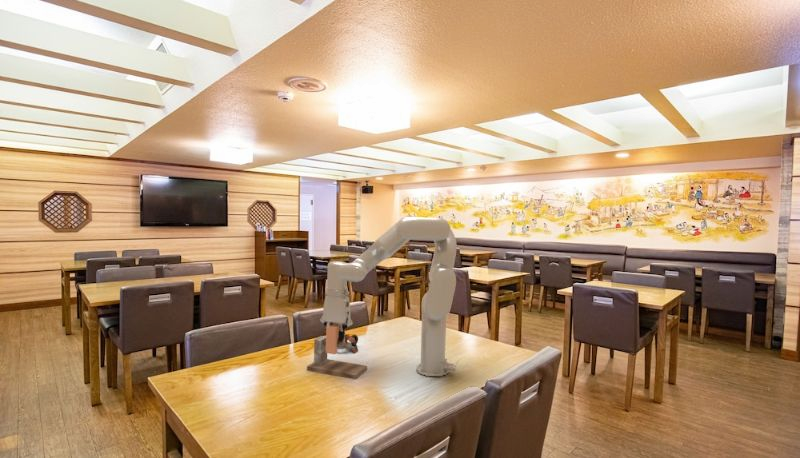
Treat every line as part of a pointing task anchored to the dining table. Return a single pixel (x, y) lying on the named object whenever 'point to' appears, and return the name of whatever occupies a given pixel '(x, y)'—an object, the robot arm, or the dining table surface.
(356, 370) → the hook stand
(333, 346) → the saddle clip
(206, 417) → the dining table surface
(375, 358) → the dining table surface
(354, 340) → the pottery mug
